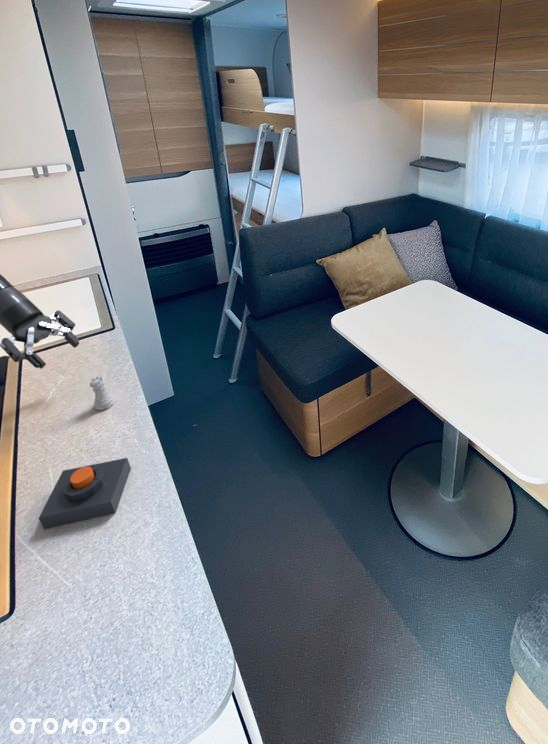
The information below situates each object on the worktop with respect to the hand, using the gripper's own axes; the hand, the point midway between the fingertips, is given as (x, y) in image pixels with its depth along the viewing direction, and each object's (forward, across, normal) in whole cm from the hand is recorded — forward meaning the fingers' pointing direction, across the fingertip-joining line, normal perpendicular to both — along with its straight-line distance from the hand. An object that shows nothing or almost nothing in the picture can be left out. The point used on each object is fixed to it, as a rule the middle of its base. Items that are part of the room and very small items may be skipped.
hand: (61, 355), depth 102 cm
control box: (+30, -20, -11) cm, 38 cm away
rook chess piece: (+16, 0, +2) cm, 17 cm away
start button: (+27, -20, -14) cm, 36 cm away
